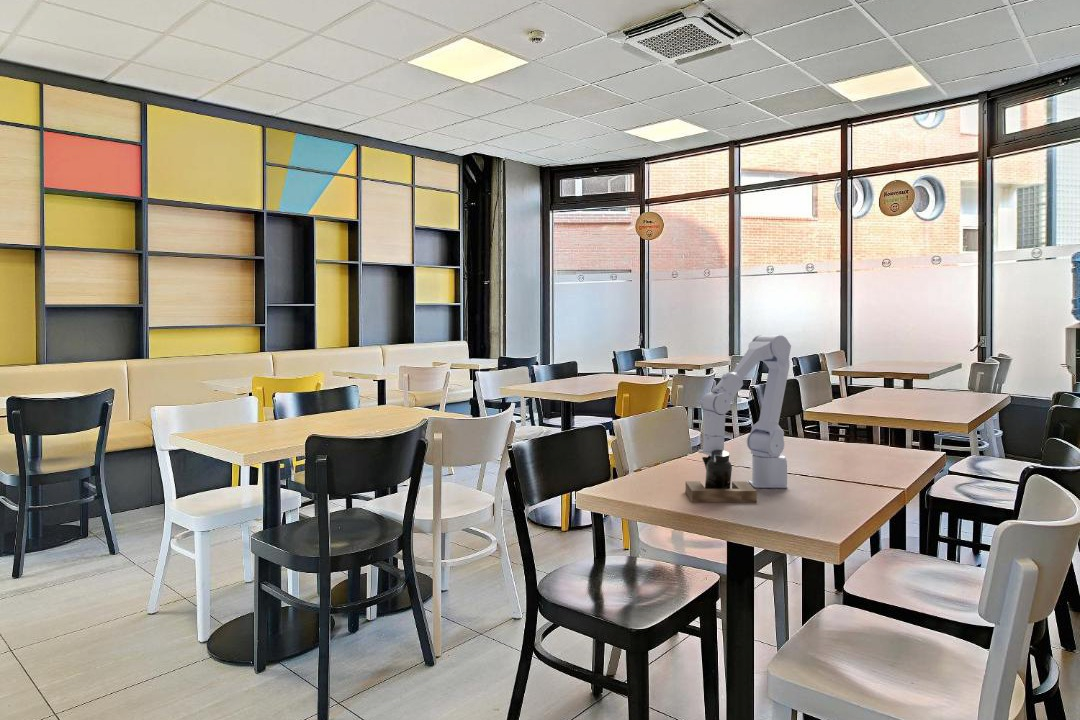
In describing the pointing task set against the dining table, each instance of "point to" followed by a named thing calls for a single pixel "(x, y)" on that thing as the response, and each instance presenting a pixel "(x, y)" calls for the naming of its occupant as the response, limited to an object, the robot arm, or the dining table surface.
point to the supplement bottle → (718, 471)
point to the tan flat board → (721, 493)
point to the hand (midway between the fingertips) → (711, 482)
